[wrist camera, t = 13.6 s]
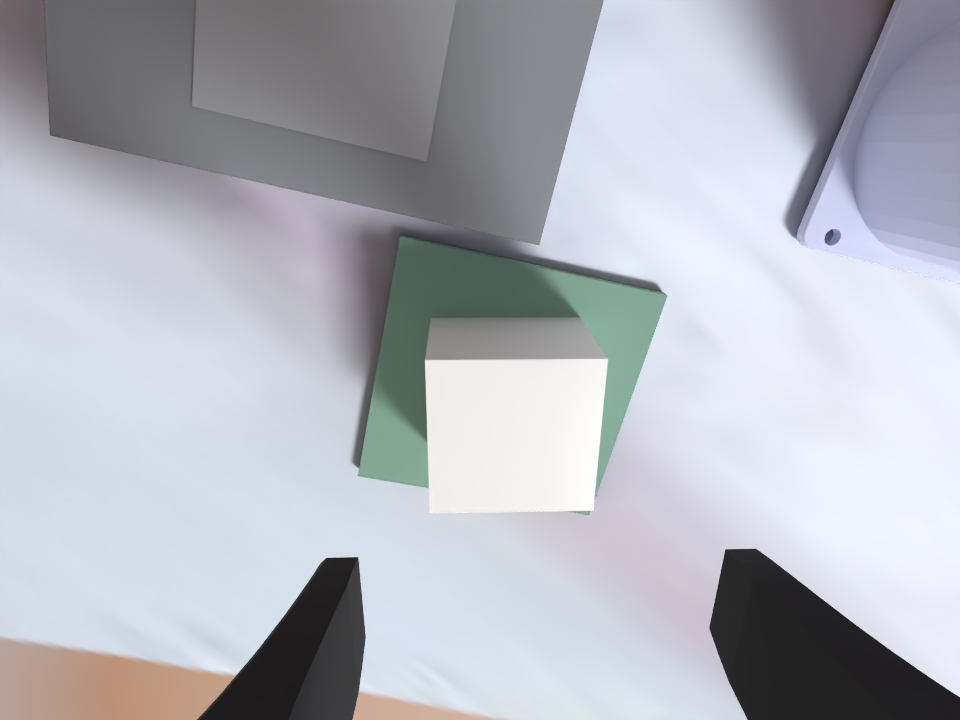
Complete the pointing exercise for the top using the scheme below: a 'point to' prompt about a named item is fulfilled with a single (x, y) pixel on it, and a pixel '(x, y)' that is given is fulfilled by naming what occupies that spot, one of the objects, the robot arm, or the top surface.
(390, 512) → the top surface
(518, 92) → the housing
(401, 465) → the mat
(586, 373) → the white square block
